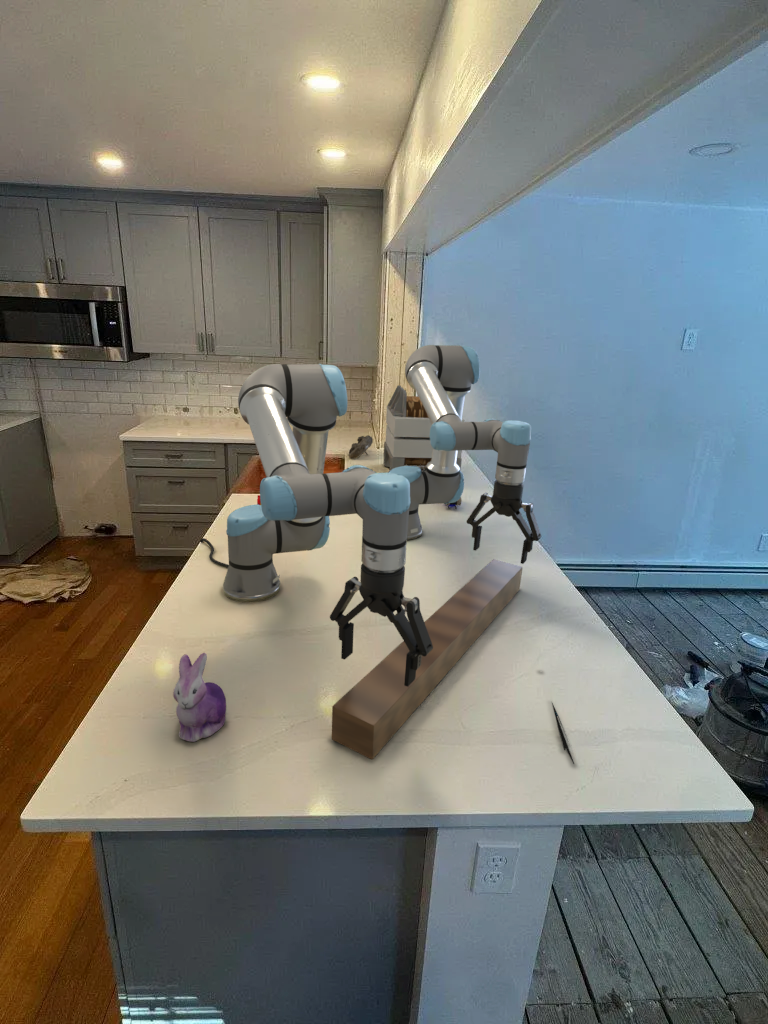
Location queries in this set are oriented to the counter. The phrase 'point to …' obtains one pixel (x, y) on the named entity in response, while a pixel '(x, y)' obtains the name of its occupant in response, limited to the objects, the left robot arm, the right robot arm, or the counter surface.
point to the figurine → (198, 701)
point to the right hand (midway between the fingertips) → (499, 555)
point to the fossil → (360, 446)
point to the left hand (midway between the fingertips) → (377, 668)
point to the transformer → (408, 432)
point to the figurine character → (454, 504)
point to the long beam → (452, 629)
